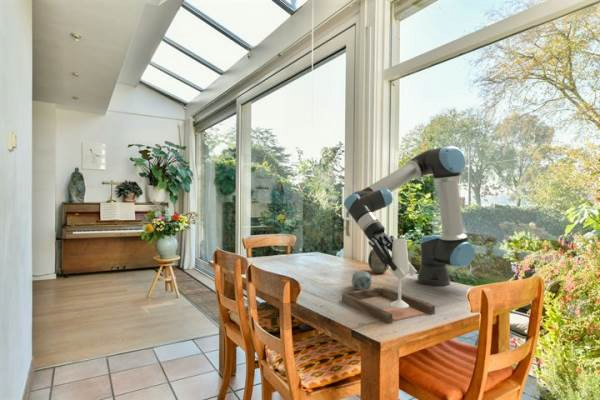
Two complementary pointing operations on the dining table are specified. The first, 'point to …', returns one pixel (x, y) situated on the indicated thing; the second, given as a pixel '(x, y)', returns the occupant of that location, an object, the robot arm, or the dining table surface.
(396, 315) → the front tile
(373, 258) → the decorative egg
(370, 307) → the bay
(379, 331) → the dining table surface
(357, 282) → the mottled grey rounded block
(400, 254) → the champagne flute
